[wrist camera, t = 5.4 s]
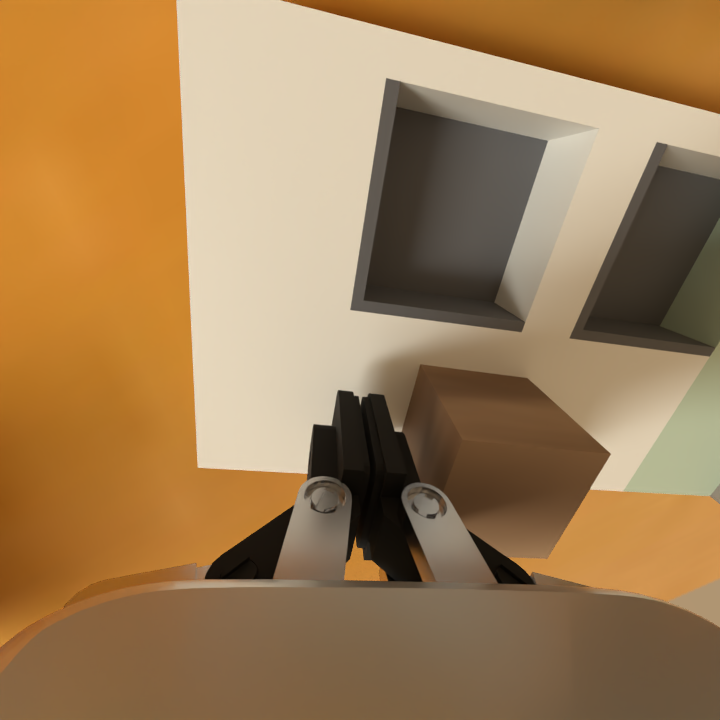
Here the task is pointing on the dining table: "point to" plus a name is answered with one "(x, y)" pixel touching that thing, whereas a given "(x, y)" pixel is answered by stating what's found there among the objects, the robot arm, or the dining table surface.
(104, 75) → the dining table surface
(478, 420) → the walnut block
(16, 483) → the dining table surface
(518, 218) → the box
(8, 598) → the dining table surface
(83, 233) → the dining table surface
